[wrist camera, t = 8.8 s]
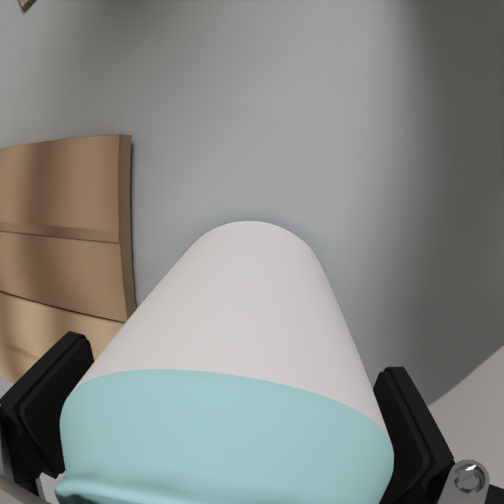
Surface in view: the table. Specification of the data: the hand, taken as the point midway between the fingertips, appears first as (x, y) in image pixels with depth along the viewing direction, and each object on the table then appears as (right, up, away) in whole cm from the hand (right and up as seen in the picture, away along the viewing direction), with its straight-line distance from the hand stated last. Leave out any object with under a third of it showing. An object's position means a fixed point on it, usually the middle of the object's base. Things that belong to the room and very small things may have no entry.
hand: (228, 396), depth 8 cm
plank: (-16, +6, +6) cm, 18 cm away
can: (+1, +3, +6) cm, 7 cm away
